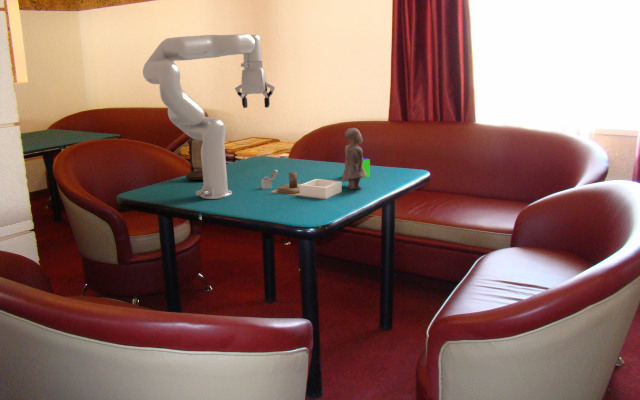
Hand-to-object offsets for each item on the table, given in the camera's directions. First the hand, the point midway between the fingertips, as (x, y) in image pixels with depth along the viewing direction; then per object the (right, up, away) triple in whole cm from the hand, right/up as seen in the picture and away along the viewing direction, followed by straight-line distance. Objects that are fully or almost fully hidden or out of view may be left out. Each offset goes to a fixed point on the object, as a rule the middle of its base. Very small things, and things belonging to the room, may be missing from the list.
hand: (256, 107), depth 238 cm
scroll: (-28, -29, +25) cm, 47 cm away
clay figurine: (+41, -34, -5) cm, 54 cm away
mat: (+16, -35, -6) cm, 39 cm away
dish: (+27, -37, -14) cm, 48 cm away
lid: (+16, -35, -6) cm, 39 cm away
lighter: (+6, -34, 0) cm, 35 cm away
